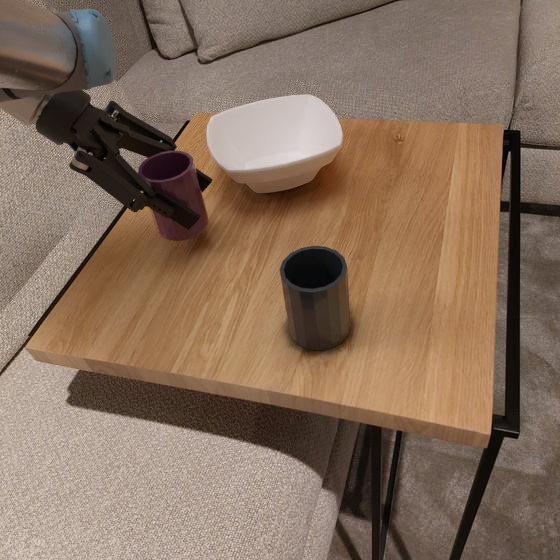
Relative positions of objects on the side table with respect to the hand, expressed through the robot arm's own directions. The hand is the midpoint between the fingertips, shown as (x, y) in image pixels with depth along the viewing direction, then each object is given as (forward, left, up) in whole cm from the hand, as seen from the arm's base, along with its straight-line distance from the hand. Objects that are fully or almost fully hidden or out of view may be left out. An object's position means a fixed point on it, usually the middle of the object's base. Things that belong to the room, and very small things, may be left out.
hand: (200, 204), depth 81 cm
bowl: (+18, +1, -7) cm, 20 cm away
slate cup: (-6, -23, -7) cm, 25 cm away
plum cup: (-2, +3, -4) cm, 5 cm away
